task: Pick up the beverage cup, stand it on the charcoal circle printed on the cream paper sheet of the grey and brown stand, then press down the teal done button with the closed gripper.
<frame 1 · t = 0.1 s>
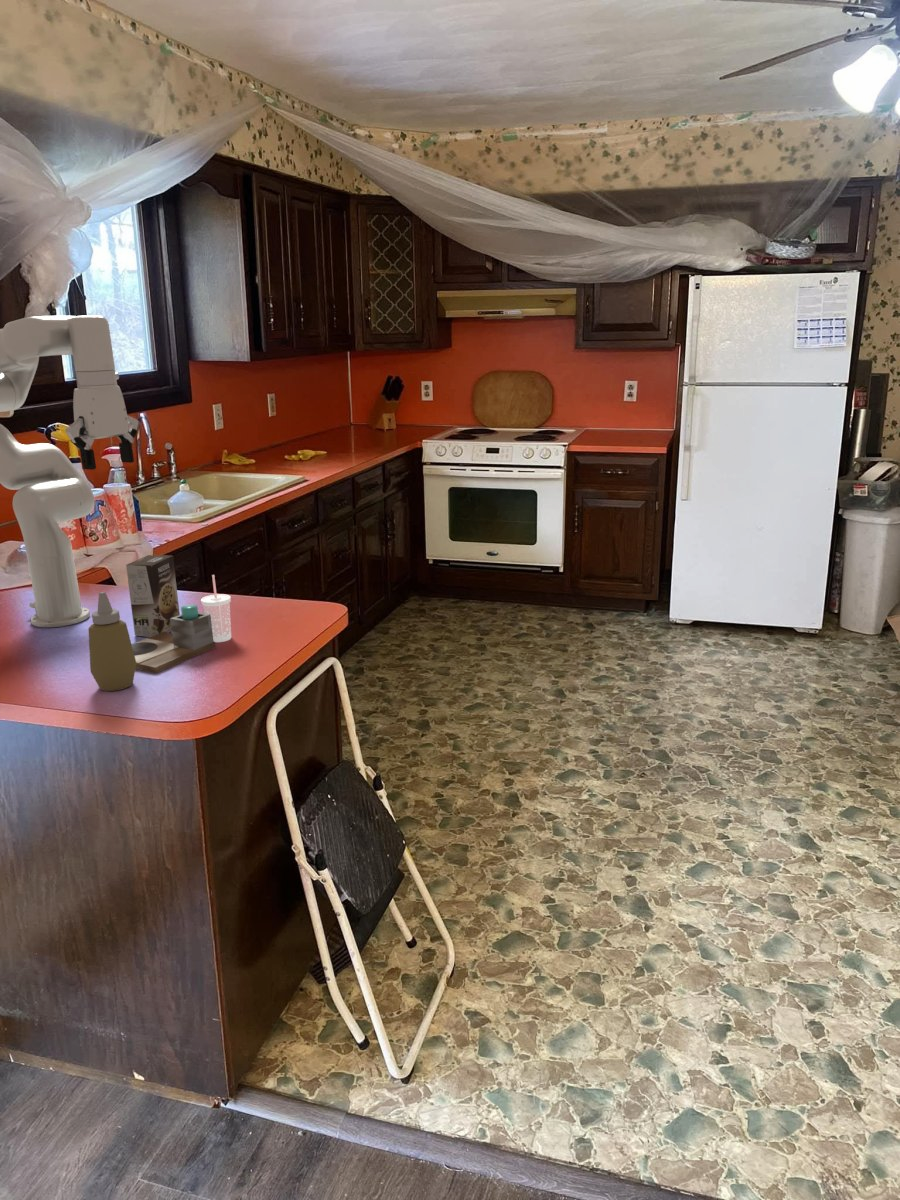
hand: (109, 465, 184), 37 cm above the table, tool pointing down, fingers open, 9 cm apart
squeeze bottle: (116, 686, 166), on the table
grey and brown stand: (160, 654, 182), on the table
coffee box: (158, 631, 197), on the table
beverage cup: (220, 639, 190), on the table
done button: (190, 614, 182), point 8 cm above the table, slide at 0.0 cm
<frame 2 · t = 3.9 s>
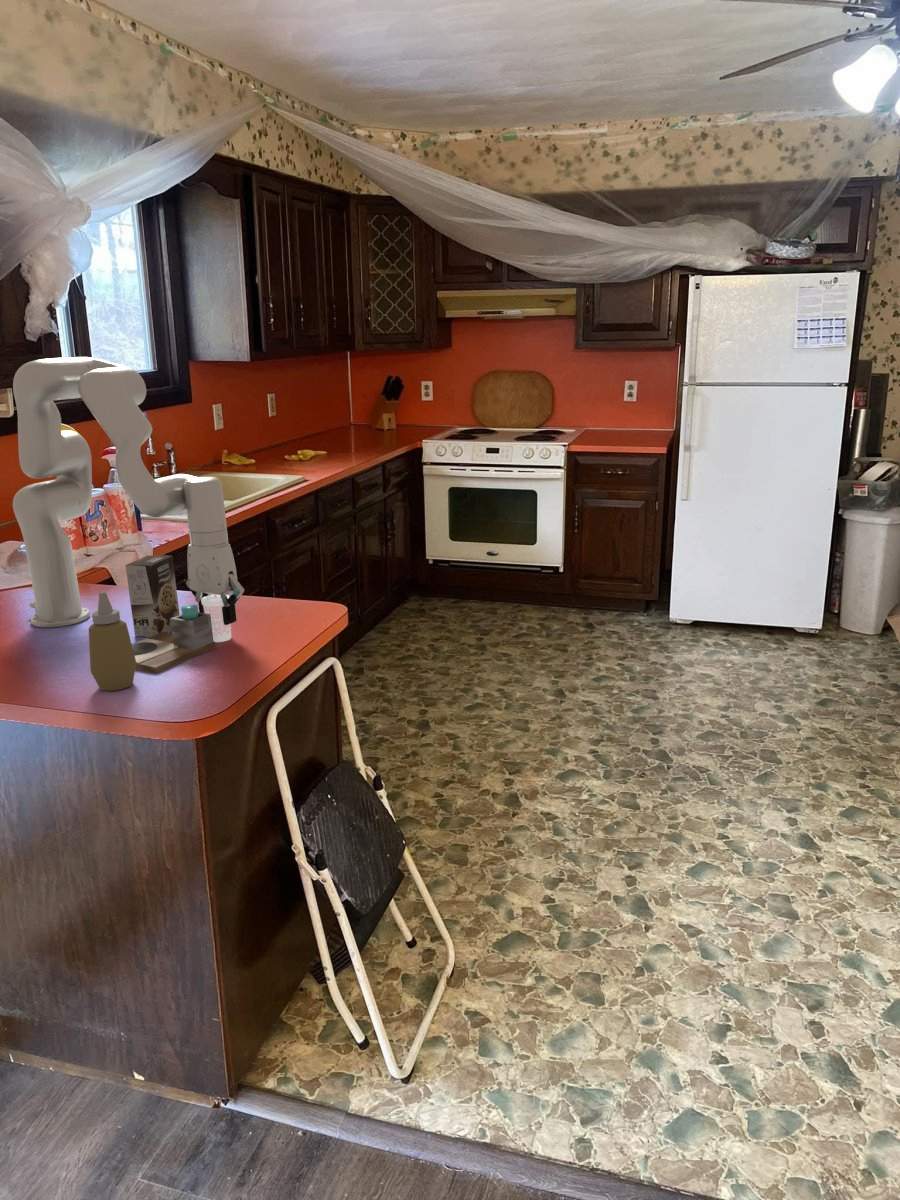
hand: (218, 620, 189), 4 cm above the table, tool pointing down, fingers closed on beverage cup, 6 cm apart
beverage cup: (220, 639, 190), on the table, touching gripper
everything else where it was.
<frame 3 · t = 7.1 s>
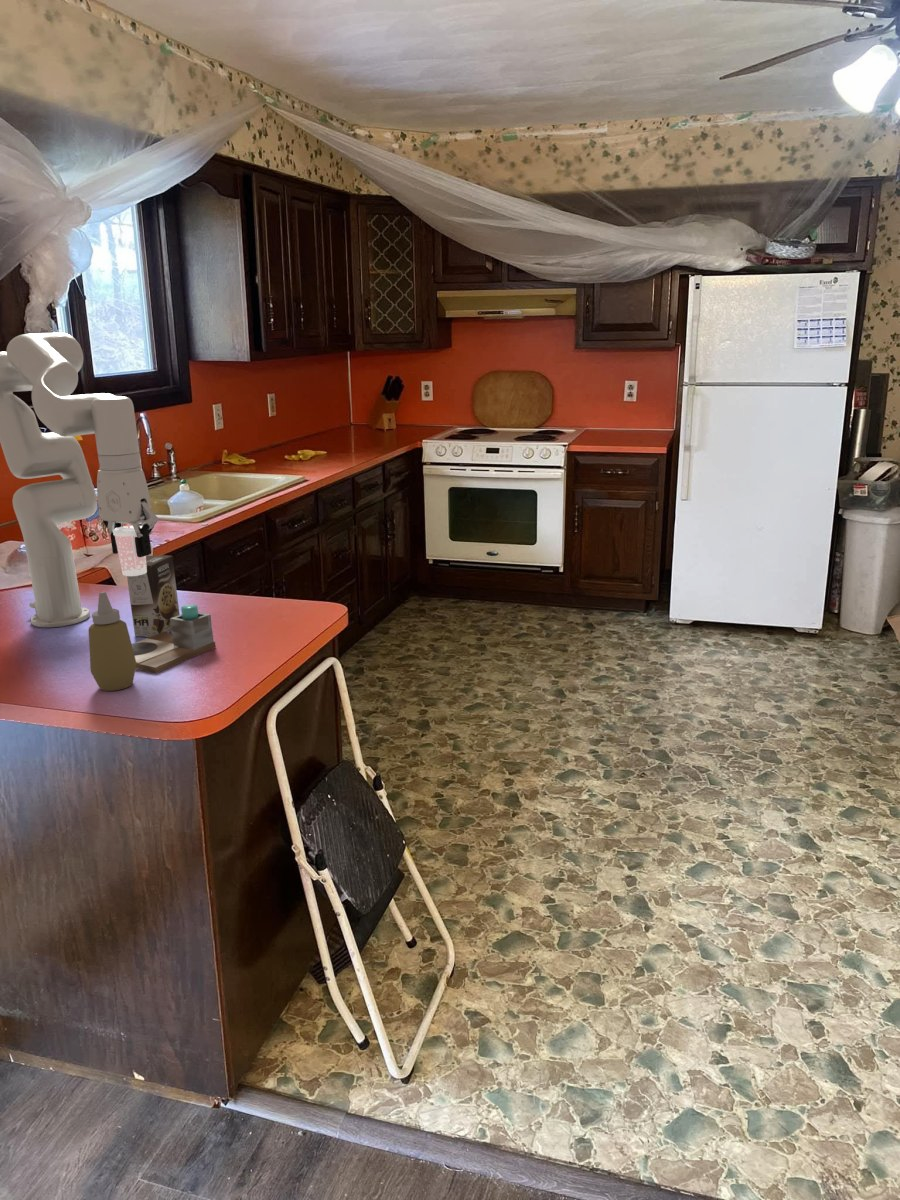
hand: (132, 553, 176), 21 cm above the table, tool pointing down, fingers closed on beverage cup, 6 cm apart
beverage cup: (135, 574, 178), point 17 cm above the table, touching gripper
everything else where it was.
when the fingers open (7 cm above the table, at t = 10.6 s): beverage cup stays where it is, resting on grey and brown stand.
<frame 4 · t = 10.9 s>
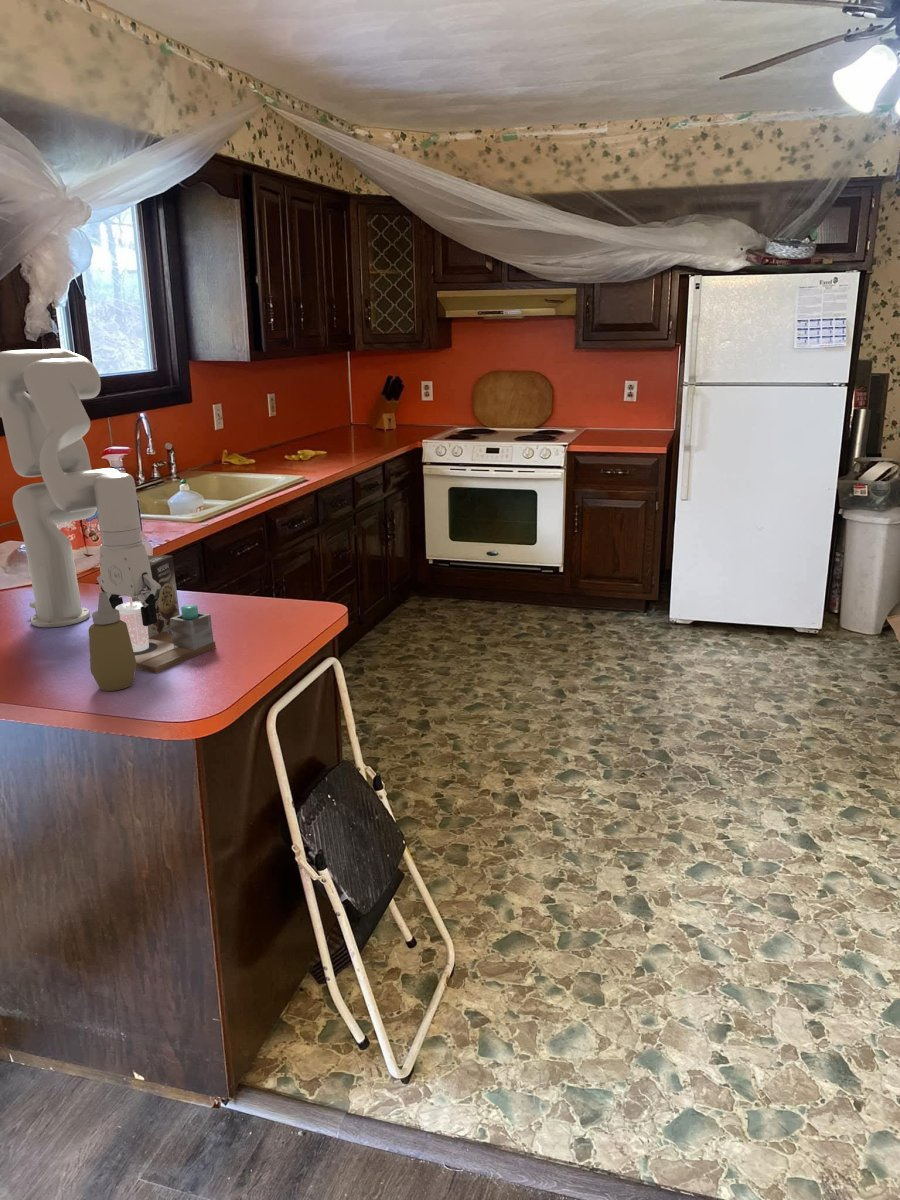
hand: (133, 620, 179), 7 cm above the table, tool pointing down, fingers open, 9 cm apart
beverage cup: (137, 649, 181), point 1 cm above the table, touching grey and brown stand
everything else where it was.
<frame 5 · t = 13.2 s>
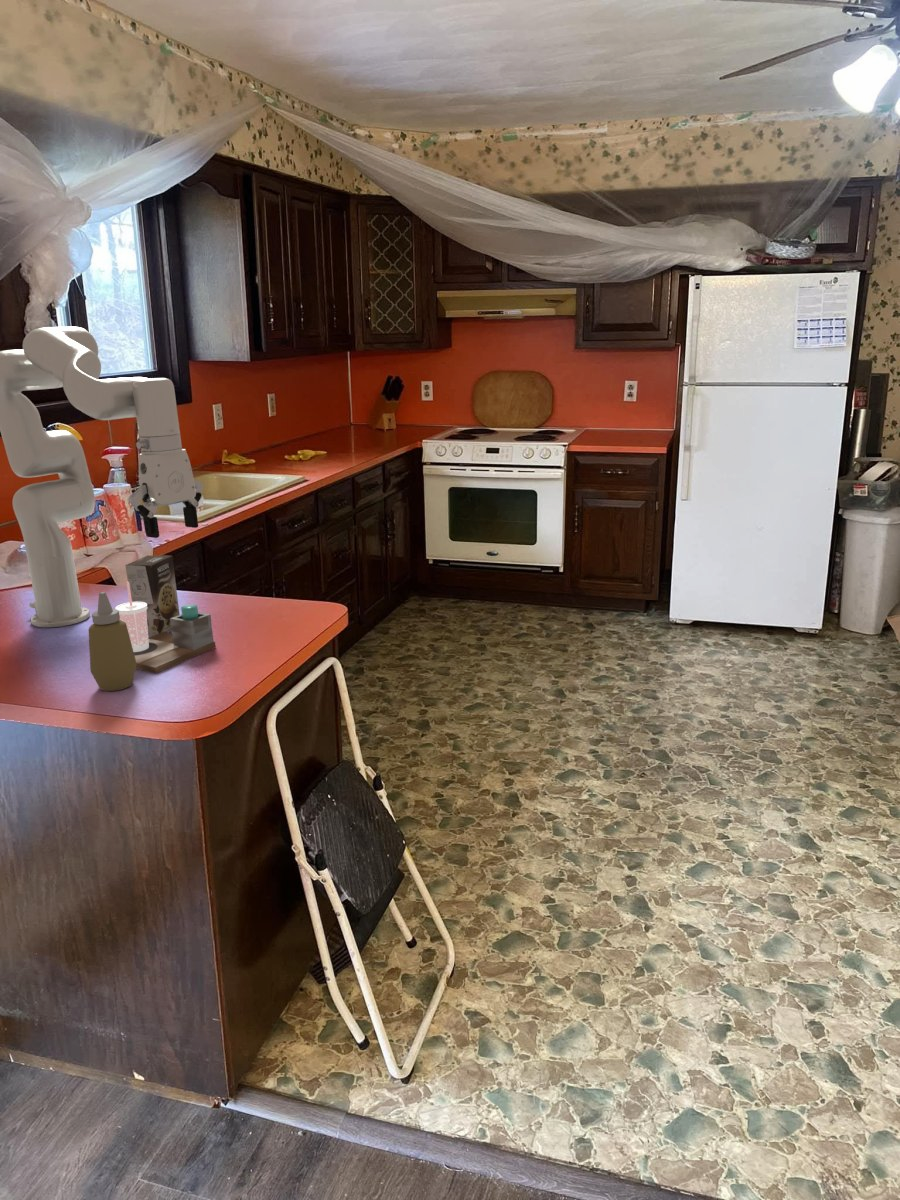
hand: (172, 531, 176), 25 cm above the table, tool pointing down, fingers open, 9 cm apart
nothing on the table moved.
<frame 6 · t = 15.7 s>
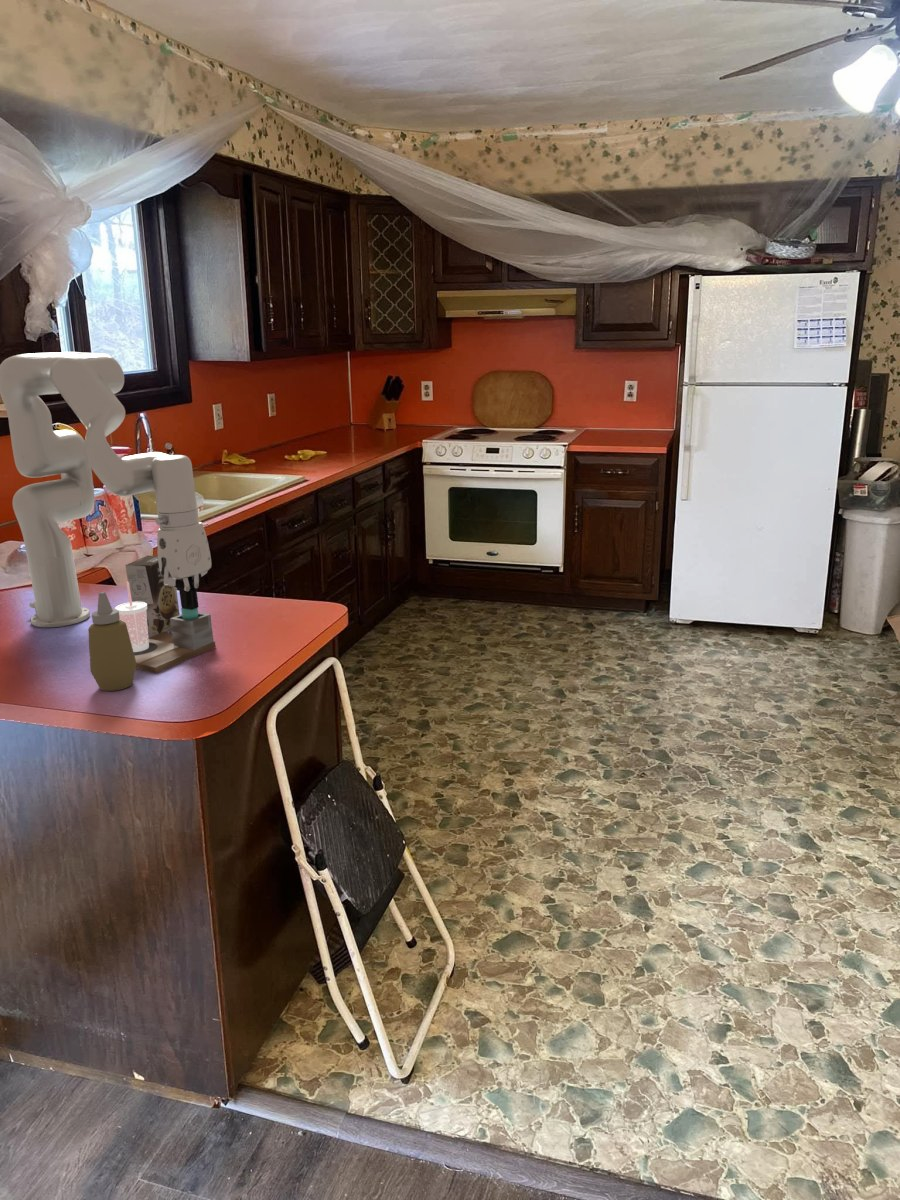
hand: (190, 607, 181), 9 cm above the table, tool pointing down, fingers closed
done button: (190, 614, 182), point 8 cm above the table, slide at 0.2 cm, touching gripper
everything else where it was.
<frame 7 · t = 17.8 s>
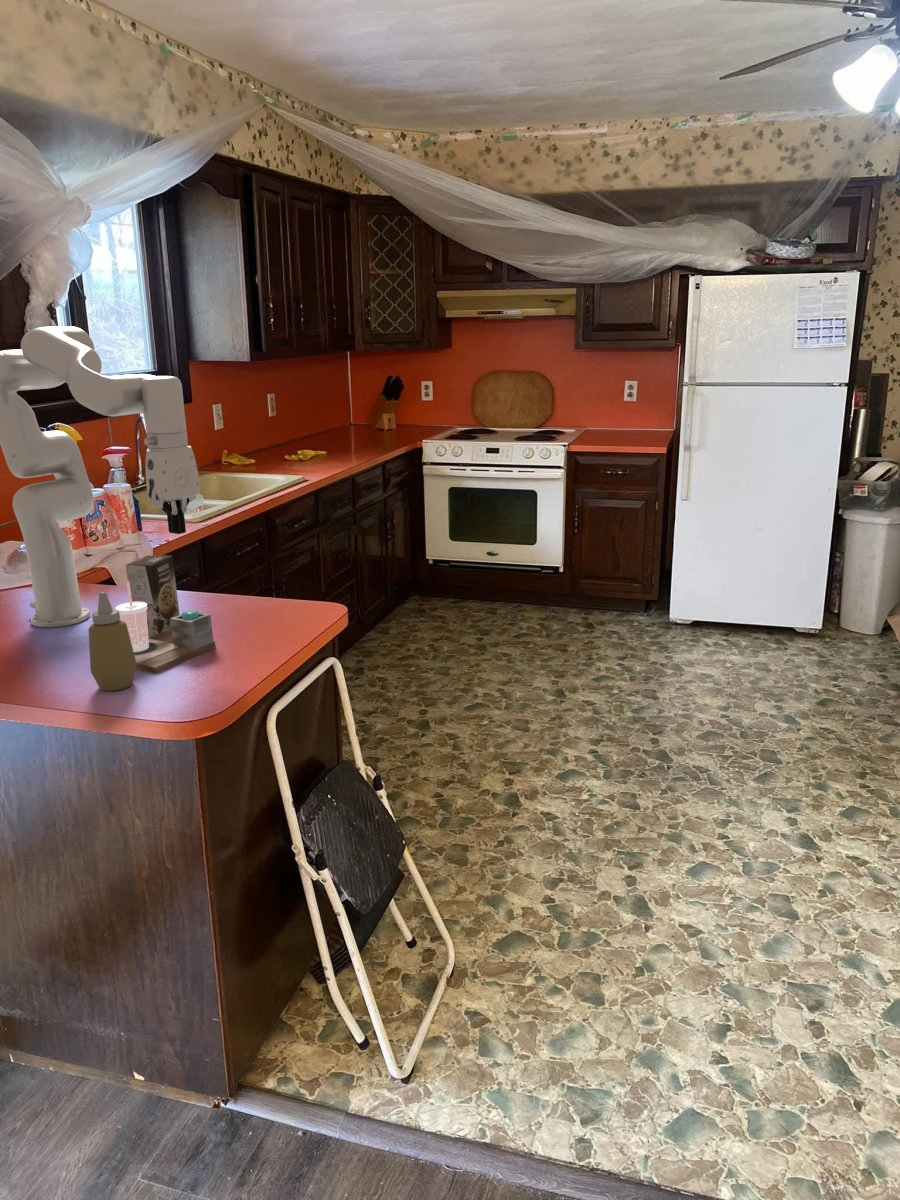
hand: (177, 532, 180), 24 cm above the table, tool pointing down, fingers closed
done button: (190, 619, 182), point 7 cm above the table, slide at 1.2 cm
everything else where it was.
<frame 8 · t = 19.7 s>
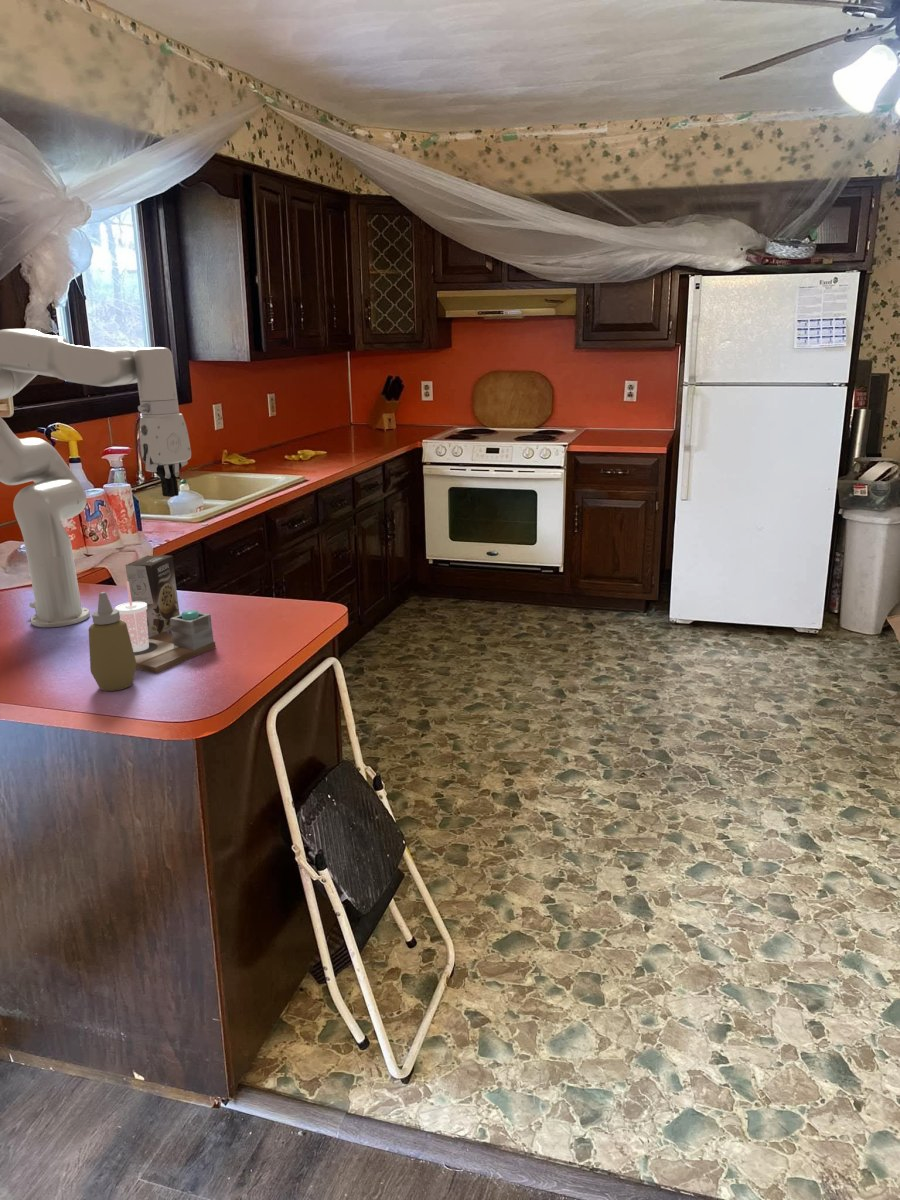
hand: (170, 495, 192), 29 cm above the table, tool pointing down, fingers closed
nothing on the table moved.
at the end: beverage cup 0.2 cm from the target spot on the grey and brown stand, point 1.3 cm above the grey and brown stand's base; beverage cup tilted 0°; done button slide at 1.2 cm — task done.
